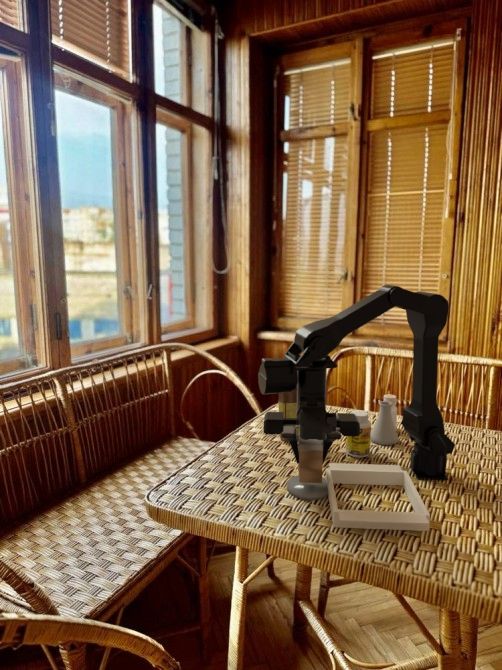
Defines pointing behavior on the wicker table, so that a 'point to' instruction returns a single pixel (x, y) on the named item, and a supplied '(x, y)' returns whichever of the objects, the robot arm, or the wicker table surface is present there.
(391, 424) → the flask
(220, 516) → the wicker table surface
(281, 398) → the sauce bottle
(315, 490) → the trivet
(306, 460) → the gray box
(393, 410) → the pepper shaker
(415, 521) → the beige square frame
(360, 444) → the supplement bottle
